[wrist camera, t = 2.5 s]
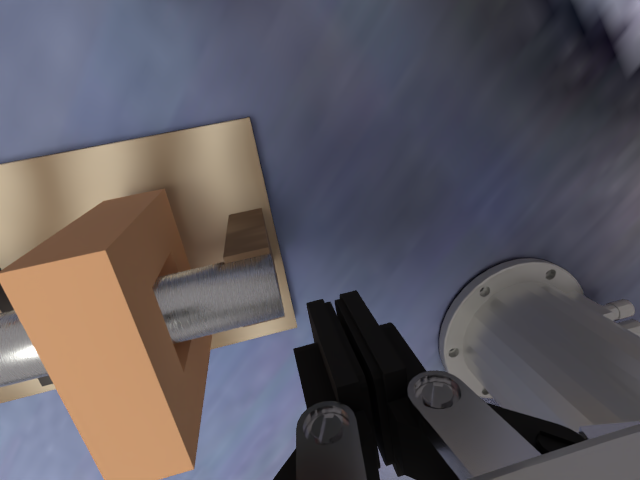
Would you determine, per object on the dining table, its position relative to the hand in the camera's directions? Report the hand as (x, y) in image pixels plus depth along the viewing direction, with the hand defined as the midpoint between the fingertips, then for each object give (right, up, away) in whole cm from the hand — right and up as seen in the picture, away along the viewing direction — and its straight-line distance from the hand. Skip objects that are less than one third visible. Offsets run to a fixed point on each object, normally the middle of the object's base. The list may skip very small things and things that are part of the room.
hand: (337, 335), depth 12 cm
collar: (-9, +1, +9) cm, 13 cm away
